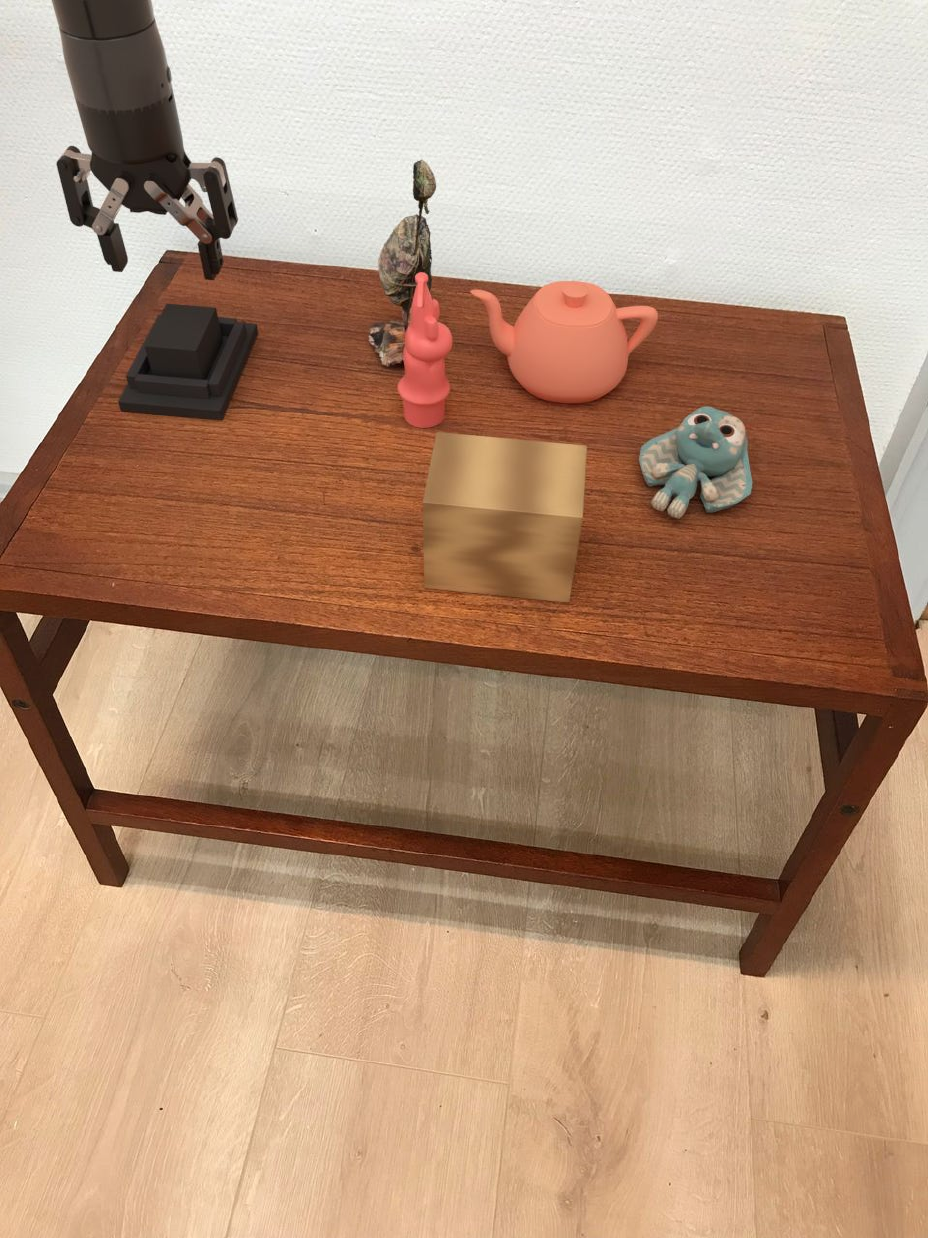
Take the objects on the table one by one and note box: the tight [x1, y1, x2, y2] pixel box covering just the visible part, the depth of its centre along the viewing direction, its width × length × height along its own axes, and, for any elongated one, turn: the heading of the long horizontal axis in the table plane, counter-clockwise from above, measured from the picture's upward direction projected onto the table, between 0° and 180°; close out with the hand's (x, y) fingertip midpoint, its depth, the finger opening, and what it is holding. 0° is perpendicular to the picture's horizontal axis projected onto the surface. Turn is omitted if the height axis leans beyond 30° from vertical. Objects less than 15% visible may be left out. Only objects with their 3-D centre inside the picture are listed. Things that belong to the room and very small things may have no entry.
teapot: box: [469, 280, 659, 404], centre depth 95 cm, size 12×18×10 cm
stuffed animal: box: [638, 406, 753, 520], centre depth 86 cm, size 11×7×12 cm
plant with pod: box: [368, 159, 437, 367], centre depth 94 cm, size 8×11×20 cm
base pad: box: [117, 314, 259, 421], centre depth 97 cm, size 14×10×3 cm
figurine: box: [397, 272, 454, 429], centre depth 88 cm, size 5×5×15 cm
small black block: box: [145, 303, 223, 380], centre depth 95 cm, size 7×5×4 cm
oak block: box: [421, 431, 588, 603], centre depth 79 cm, size 12×8×10 cm, turn 83°
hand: (166, 271), depth 89 cm, fingers open, 8 cm apart
